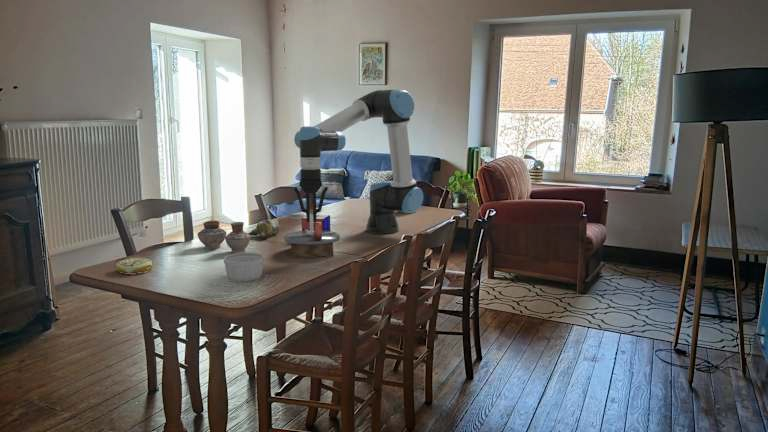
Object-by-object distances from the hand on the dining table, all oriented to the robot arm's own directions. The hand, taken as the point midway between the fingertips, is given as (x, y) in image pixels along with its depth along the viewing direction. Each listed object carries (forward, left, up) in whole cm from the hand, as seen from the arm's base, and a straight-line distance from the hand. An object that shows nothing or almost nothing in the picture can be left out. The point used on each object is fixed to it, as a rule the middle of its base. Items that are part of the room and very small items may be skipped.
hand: (311, 230), depth 211 cm
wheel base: (0, -9, -11) cm, 14 cm away
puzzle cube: (-2, -32, -11) cm, 34 cm away
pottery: (+35, -17, -11) cm, 40 cm away
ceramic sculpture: (+20, -39, -11) cm, 46 cm away
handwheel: (0, -9, -5) cm, 10 cm away
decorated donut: (+62, +10, -11) cm, 64 cm away
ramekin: (+23, +22, -11) cm, 34 cm away
